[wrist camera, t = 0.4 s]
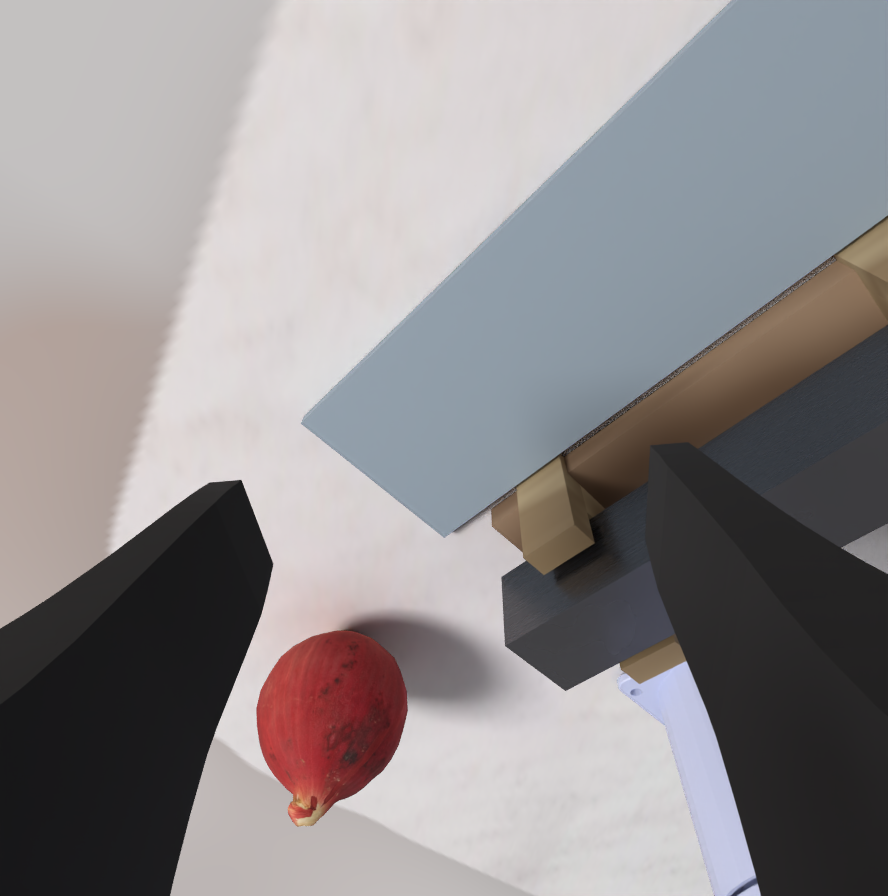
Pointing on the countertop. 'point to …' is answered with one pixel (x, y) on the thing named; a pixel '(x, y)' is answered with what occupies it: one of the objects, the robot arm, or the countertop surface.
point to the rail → (756, 465)
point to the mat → (629, 256)
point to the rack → (699, 413)
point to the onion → (330, 719)
